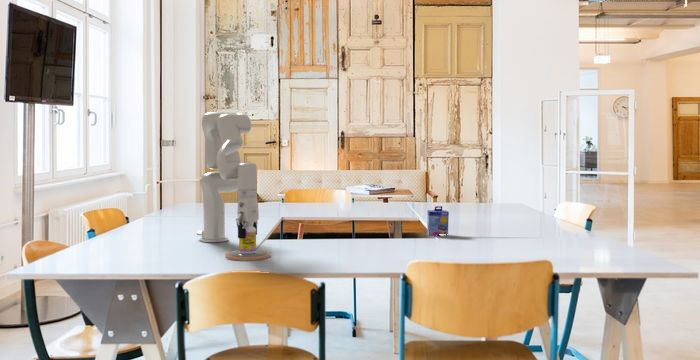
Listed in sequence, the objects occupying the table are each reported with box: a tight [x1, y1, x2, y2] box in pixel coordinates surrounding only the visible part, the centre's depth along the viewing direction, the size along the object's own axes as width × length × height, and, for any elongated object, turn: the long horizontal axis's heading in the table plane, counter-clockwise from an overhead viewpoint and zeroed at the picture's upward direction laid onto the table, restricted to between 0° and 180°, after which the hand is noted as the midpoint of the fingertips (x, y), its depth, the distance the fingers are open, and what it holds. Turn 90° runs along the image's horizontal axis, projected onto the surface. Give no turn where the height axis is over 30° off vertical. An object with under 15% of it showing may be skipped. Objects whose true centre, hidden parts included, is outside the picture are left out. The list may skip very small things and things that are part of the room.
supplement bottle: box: [238, 222, 257, 254], centre depth 257 cm, size 7×7×13 cm
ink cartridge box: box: [426, 205, 450, 237], centre depth 313 cm, size 10×6×14 cm, turn 94°
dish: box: [224, 249, 272, 262], centre depth 257 cm, size 18×18×1 cm
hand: (247, 236), depth 257 cm, fingers open, 9 cm apart
